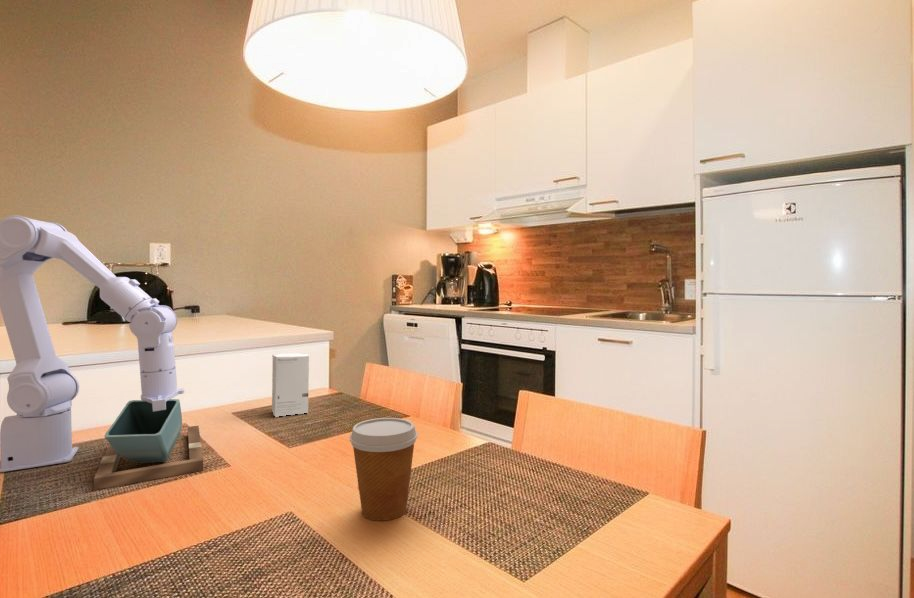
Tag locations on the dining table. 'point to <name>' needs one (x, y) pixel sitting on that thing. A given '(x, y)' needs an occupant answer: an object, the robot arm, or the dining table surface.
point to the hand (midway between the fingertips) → (163, 440)
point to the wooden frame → (110, 461)
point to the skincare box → (290, 384)
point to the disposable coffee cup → (383, 465)
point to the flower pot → (146, 431)
